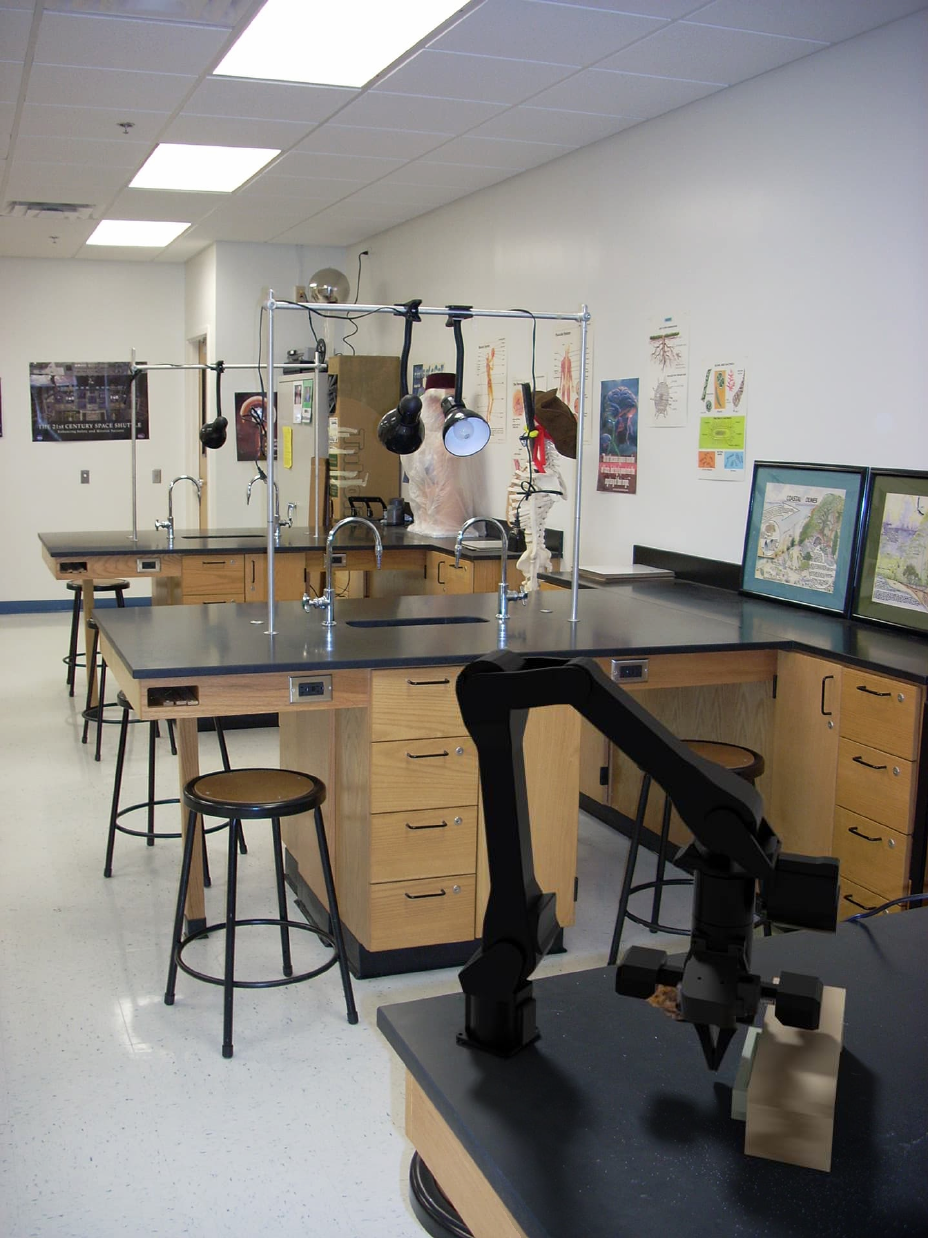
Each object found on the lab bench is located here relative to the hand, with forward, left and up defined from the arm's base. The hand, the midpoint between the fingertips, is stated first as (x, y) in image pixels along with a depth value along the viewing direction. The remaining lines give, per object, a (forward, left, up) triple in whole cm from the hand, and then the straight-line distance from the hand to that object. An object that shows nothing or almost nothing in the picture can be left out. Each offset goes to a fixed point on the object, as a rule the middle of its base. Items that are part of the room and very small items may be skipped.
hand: (713, 1069), depth 113 cm
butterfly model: (-9, +13, -2) cm, 16 cm away
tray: (+5, +1, -1) cm, 6 cm away
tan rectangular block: (+8, +2, -1) cm, 8 cm away
